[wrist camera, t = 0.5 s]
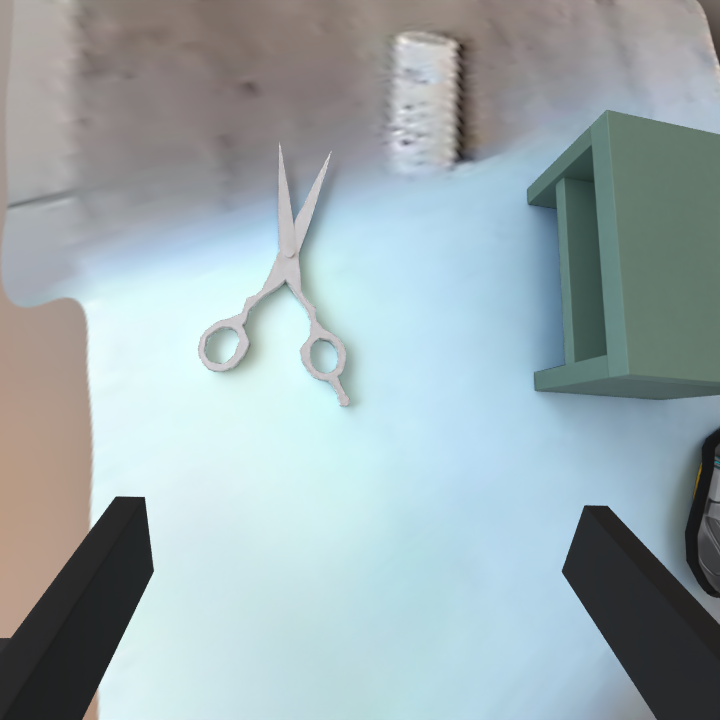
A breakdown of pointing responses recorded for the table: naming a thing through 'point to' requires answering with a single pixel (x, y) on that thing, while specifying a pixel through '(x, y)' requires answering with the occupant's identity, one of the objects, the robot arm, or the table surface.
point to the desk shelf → (637, 260)
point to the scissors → (281, 272)
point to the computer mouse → (706, 520)
